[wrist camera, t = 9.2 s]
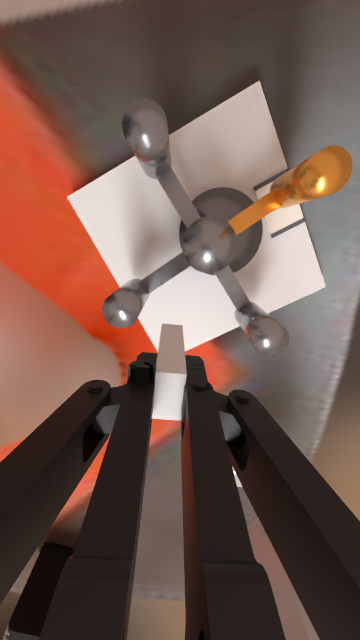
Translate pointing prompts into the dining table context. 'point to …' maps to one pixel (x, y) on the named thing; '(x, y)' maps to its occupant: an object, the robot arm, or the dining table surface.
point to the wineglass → (280, 585)
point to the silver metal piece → (218, 224)
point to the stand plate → (164, 222)
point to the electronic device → (38, 594)
